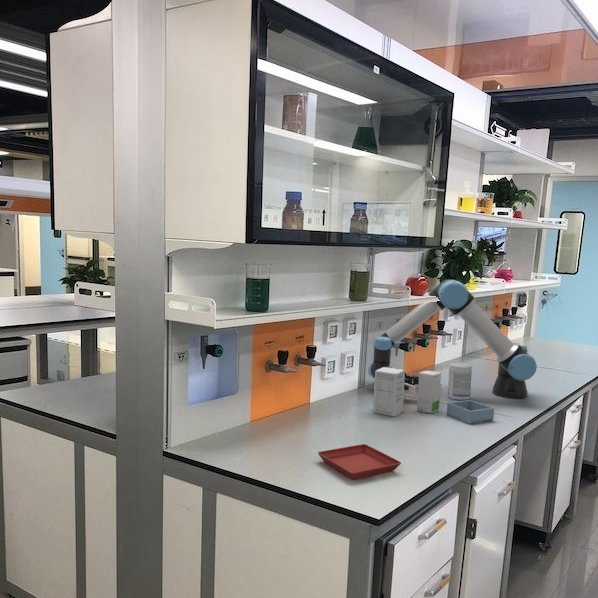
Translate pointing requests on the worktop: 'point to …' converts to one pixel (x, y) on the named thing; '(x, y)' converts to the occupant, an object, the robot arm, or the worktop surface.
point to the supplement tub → (459, 381)
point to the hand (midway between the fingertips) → (428, 388)
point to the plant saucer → (359, 461)
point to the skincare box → (428, 391)
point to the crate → (470, 411)
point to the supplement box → (388, 391)
